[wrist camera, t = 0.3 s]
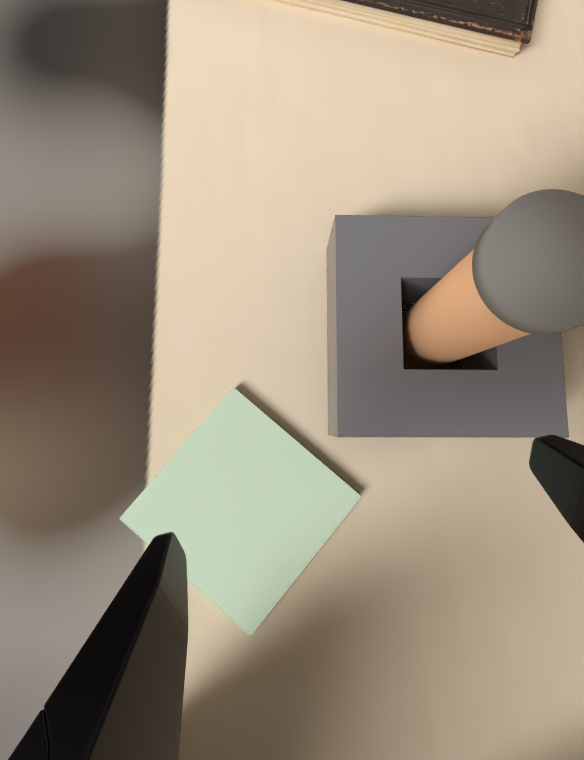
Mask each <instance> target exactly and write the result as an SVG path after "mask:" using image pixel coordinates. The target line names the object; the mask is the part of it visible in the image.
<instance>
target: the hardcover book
mask: <svg viewBox="0 0 584 760" xmlns="http://www.w3.org/2000/svg"><path fill="white" fill-rule="evenodd" d="M267 1H271V2H276V3H280V4H284V5H288V6H293V7H297V8H301V9H306V10H310V11H314V12H318V13H323V14H327V15H331V16H335V17H340V18H344V19H348V20H352V21H357V22H361V23H365V24H369V25H374V26H378V27H382V28H387V29H391V30H395V31H399V32H404V33H408V34H412V35H416V36H421V37H425V38H429V39H433V40H438V41H442V42H446V43H450V44H455V45H459V46H463V47H467V48H472V49H476V50H480V51H485V52H489V53H493V54H497V55H502V56H506V57H510V58H514V55H515V54H516V53H518V52H519V50H520V45H521V44H522V43H526V44H528V43H529V41H530V40H531V34H532V29H533V23H534V18H535V13H536V7H537V2H538V0H267Z"/></svg>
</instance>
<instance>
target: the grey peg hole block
mask: <svg viewBox="0 0 584 760" xmlns="http://www.w3.org/2000/svg"><path fill="white" fill-rule="evenodd" d="M494 219H495V218H489V217H427V216H365V215H335V218H334V222H333V226H332V230H331V234H330V238H329V242H328V246H327V342H328V435H332V436H336V437H541V436H545V435H551V434H552V435H556V436H559V437H562V438H569V432H568V419H567V407H566V395H565V382H564V370H563V357H562V345H561V333H560V332H559V333H554V334H532V333H531V334H529V335H526V336H523V337H520V338H518V339H515V340H512V341H509V342H506V343H504V344H501V345H498V346H495V347H493V348H490V349H487V350H484V351H482V352H479V353H476V354H473V355H471V356H468V357H465V358H462V359H461V370H417V369H404V365H403V333H402V302H417V301H418V300H419V299H420V298H421V297H422V296H423V295H424V294H425V293H427V292H428V291H429V290H430V289H431V288H432V287H433V286H434V285H435V284H436V283H437V282H439V281H440V280H441V279H442V278H443V277H444V276H445V275H446V274H447V273H448V272H450V271H451V270H452V269H453V268H454V267H455V266H456V265H457V264H458V263H459V262H460V261H462V260H463V259H464V258H465V257H466V256H467V255H468V254H469V253H470V252H471V251H473V250H474V248H475V245H476V242H477V240H478V238H479V236H480V235H481V233H482V232H483V230H484V229H485V228H486V227H487V226H488V225H489V224H490V222H492V221H493V220H494Z"/></svg>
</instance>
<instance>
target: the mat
mask: <svg viewBox="0 0 584 760" xmlns="http://www.w3.org/2000/svg"><path fill="white" fill-rule="evenodd" d="M360 498H361V495H360V494H358V493H357V492H356V491H355V490H354V489H352V488H351V487H350V486H349V485H348V484H347V483H345V482H344V481H343V480H342V479H341V478H340V477H338V476H337V475H336V474H335V473H334V472H333V471H331V470H330V469H329V468H328V467H327V466H326V465H324V464H323V463H322V462H321V461H320V460H319V459H317V458H316V457H315V456H314V455H313V454H311V453H310V452H309V451H308V450H307V449H306V448H304V447H303V446H302V445H301V444H300V443H299V442H297V441H296V440H295V439H294V438H293V437H292V436H290V435H289V434H288V433H287V432H286V431H285V430H283V429H282V428H281V427H280V426H279V425H278V424H276V423H275V422H274V421H273V420H272V419H270V418H269V417H268V416H267V415H266V414H265V413H263V412H262V411H261V410H260V409H259V408H258V407H256V406H255V405H254V404H253V403H252V402H251V401H249V400H248V399H247V398H246V397H245V396H244V395H242V394H241V393H240V392H239V391H238V390H237V389H235V388H234V387H233V389H232V390H231V391H230V392H229V393H228V394H227V395H226V397H225V398H224V399H223V400H222V401H221V402H220V403H219V405H218V406H217V407H216V408H215V409H214V410H213V411H212V413H211V414H210V415H209V416H208V417H207V418H206V419H205V421H204V422H203V423H202V424H201V425H200V426H199V428H198V429H197V430H196V431H195V432H194V433H193V434H192V436H191V437H190V438H189V439H188V440H187V441H186V442H185V444H184V445H183V446H182V447H181V448H180V449H179V450H178V452H177V453H176V454H175V455H174V456H173V457H172V459H171V460H170V461H169V462H168V463H167V464H166V465H165V467H164V468H163V469H162V470H161V471H160V472H159V473H158V475H157V476H156V477H155V478H154V479H153V480H152V481H151V483H150V484H149V485H148V486H147V487H146V488H145V490H144V491H143V492H142V493H141V494H140V495H139V496H138V498H137V499H136V500H135V501H134V502H133V503H132V505H131V506H130V507H129V508H128V509H127V510H126V511H125V512H124V514H123V515H122V516H121V517H120V519H121V521H123V522H124V523H125V524H126V525H127V526H128V527H129V528H130V529H131V530H133V531H134V532H135V533H136V534H137V535H138V536H139V537H140V538H141V539H143V540H144V541H145V542H146V543H147V544H148V545H149V544H150V543H151V541H152V540H153V538H154V537H155V536H157V535H160V534H163V533H167V532H173V533H175V535H176V537H177V539H178V540H179V542H180V544H181V546H182V548H183V550H184V552H185V555H186V560H187V580H188V581H189V582H190V583H191V584H192V585H194V586H195V587H196V588H197V589H198V590H199V591H200V592H201V593H202V594H204V595H205V596H206V597H207V598H208V599H209V600H210V601H211V602H212V603H214V604H215V605H216V606H217V607H218V608H219V609H220V610H221V611H222V612H224V613H225V614H226V615H227V616H228V617H229V618H230V619H231V620H232V621H234V622H235V623H236V624H237V625H238V626H239V627H240V628H241V629H242V630H244V631H245V632H246V633H247V634H248V635H249V636H251V635H252V634H253V632H254V631H255V630H256V629H257V627H258V626H259V625H260V624H261V622H262V621H263V620H264V619H265V617H266V616H267V615H268V614H269V612H270V611H271V610H272V608H273V607H274V606H275V605H276V603H277V602H278V601H279V600H280V598H281V597H282V596H283V595H284V593H285V592H286V591H287V590H288V588H289V587H290V586H291V585H292V583H293V582H294V581H295V580H296V578H297V577H298V576H299V574H300V573H301V572H302V571H303V569H304V568H305V567H306V566H307V564H308V563H309V562H310V561H311V559H312V558H313V557H314V556H315V554H316V553H317V552H318V551H319V549H320V548H321V547H322V545H323V544H324V543H325V542H326V540H327V539H328V538H329V537H330V535H331V534H332V533H333V532H334V530H335V529H336V528H337V527H338V525H339V524H340V523H341V522H342V520H343V519H344V518H345V517H346V515H347V514H348V513H349V511H350V510H351V509H352V508H353V506H354V505H355V504H356V503H357V501H358V500H359V499H360Z"/></svg>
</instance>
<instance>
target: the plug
mask: <svg viewBox="0 0 584 760" xmlns="http://www.w3.org/2000/svg"><path fill="white" fill-rule="evenodd" d="M581 325H584V196H582V195H579V194H576V193H573V192H569V191H565V190H540V191H535V192H532V193H529V194H526V195H524V196H521V197H520V198H518V199H516V200H515V201H513V202H512V203H511V204H509V205H508V206H507V207H506V208H505V209H504V210H503V211H502V212H501V213H500V214H499V215H498V216H497V217H496V218H495V219H494V220H493V221H492V222H490V224H489V225H488V226H487V227H486V228H485V229H484V230H483V232H482V233H481V235H480V236H479V238H478V240H477V242H476V245H475V248H474V250H473V251H471V252H470V253H469V254H468V255H467V256H466V257H465V258H464V259H463V260H462V261H460V262H459V263H458V264H457V265H456V266H455V267H454V268H453V269H452V270H451V271H450V272H448V273H447V274H446V275H445V276H444V277H443V278H442V279H441V280H440V281H439V282H437V283H436V284H435V285H434V286H433V287H432V288H431V289H430V290H429V291H428V292H427V293H425V294H424V295H423V296H422V297H421V298H420V299H419V300H418V301H417V302H416V303H414V304H413V305H412V306H411V307H410V308H409V309H408V310H407V311H406V312H405V313H404V314H402V333H403V365H405V366H406V367H408V368H410V369H417V370H432V369H435V368H437V367H440V366H443V365H446V364H448V363H451V362H454V361H457V360H460V359H462V358H465V357H468V356H471V355H473V354H476V353H479V352H482V351H484V350H487V349H490V348H493V347H495V346H498V345H501V344H504V343H506V342H509V341H512V340H515V339H518V338H520V337H523V336H526V335H529V334H531V333H532V334H554V333H559V332H562V331H566V330H569V329H572V328H575V327H578V326H581Z"/></svg>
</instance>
